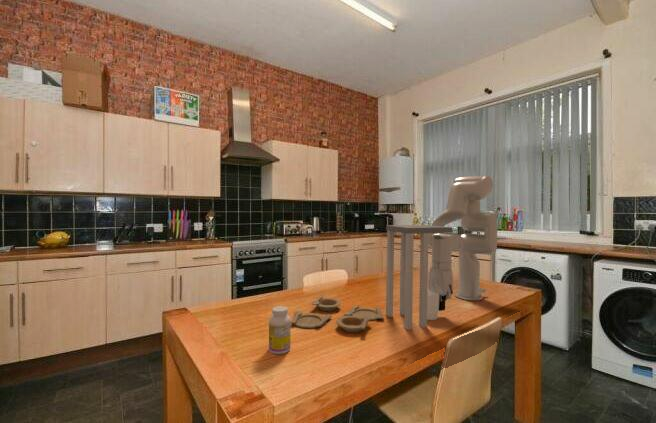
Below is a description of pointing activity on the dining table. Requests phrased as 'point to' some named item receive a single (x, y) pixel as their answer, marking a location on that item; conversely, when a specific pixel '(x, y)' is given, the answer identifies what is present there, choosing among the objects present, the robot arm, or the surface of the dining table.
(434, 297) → the white cup
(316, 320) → the tableware set
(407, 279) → the grey tall stool
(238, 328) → the dining table surface
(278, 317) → the supplement bottle
